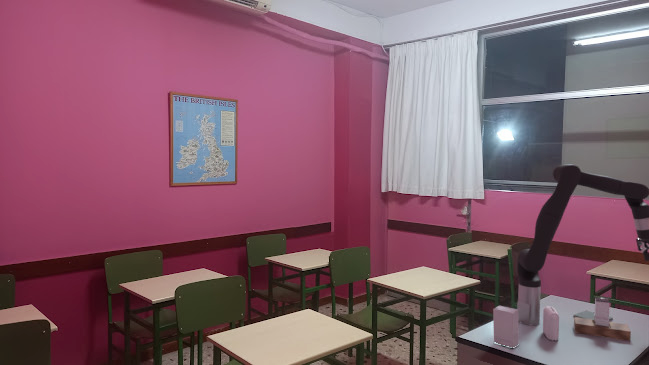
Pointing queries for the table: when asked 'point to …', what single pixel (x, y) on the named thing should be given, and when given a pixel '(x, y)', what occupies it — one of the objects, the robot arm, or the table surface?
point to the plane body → (602, 329)
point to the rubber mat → (587, 315)
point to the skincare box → (506, 326)
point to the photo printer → (551, 323)
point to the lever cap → (601, 312)
